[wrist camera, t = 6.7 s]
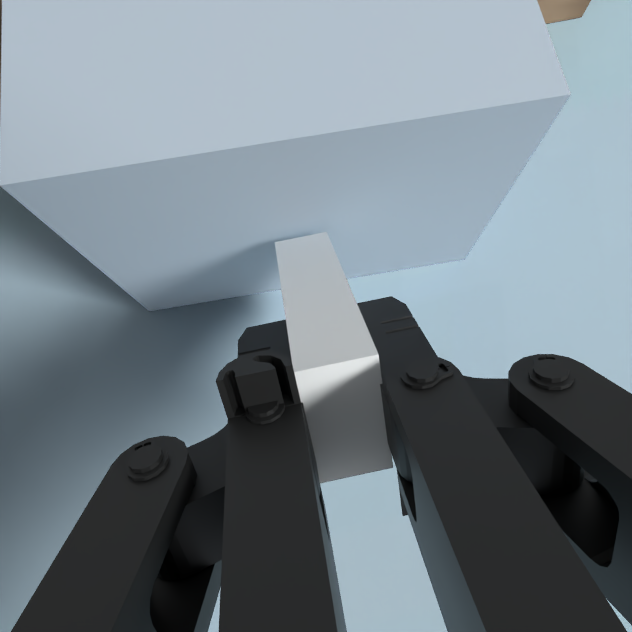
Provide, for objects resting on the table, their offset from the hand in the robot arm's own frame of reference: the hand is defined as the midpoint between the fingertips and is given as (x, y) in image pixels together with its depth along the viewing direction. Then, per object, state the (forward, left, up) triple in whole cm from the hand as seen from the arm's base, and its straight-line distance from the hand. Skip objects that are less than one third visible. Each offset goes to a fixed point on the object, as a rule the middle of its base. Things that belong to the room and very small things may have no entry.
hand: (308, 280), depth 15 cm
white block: (0, -5, -4) cm, 7 cm away
